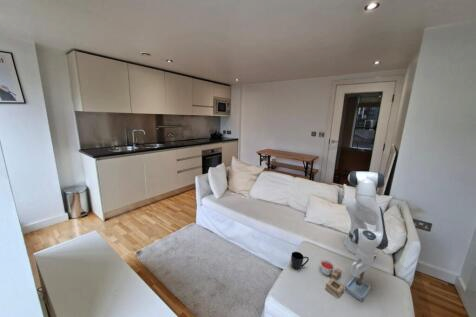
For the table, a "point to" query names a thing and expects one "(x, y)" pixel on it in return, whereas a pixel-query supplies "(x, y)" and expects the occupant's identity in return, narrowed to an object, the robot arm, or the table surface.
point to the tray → (357, 289)
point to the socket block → (337, 285)
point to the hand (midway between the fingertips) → (360, 275)
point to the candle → (327, 267)
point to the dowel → (359, 279)
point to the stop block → (336, 274)
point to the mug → (297, 260)
